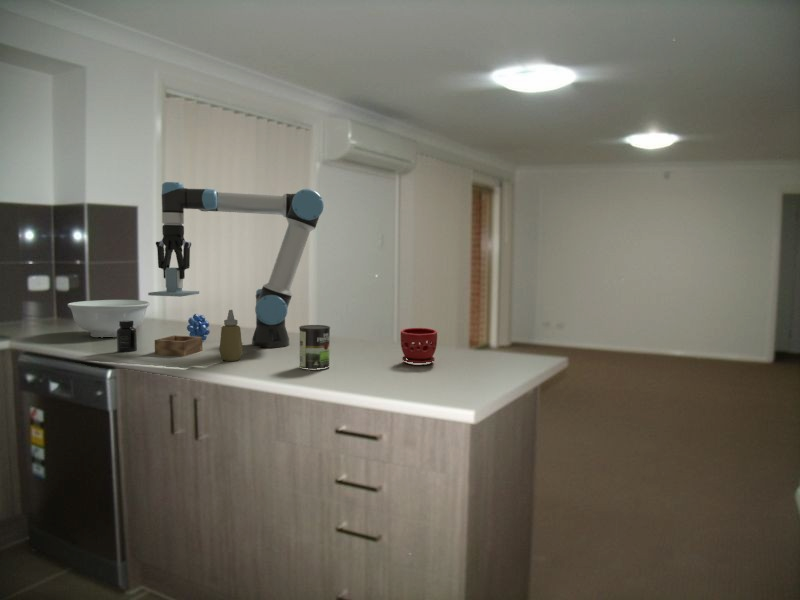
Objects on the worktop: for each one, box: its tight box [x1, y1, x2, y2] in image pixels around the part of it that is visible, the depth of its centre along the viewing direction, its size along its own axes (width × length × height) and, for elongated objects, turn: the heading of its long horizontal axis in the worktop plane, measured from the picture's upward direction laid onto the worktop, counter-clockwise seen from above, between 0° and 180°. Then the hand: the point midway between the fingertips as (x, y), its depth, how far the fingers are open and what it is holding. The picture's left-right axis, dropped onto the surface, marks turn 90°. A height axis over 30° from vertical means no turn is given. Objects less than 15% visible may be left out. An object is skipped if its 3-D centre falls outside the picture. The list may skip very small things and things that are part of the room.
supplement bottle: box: [116, 320, 138, 353], centre depth 230 cm, size 7×7×12 cm
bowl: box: [67, 299, 151, 339], centre depth 270 cm, size 32×32×15 cm
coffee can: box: [298, 324, 331, 369], centre depth 209 cm, size 10×10×14 cm
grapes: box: [186, 313, 211, 342], centre depth 256 cm, size 12×7×12 cm, turn 151°
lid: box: [147, 267, 200, 298], centre depth 230 cm, size 13×13×10 cm
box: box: [154, 335, 203, 357], centre depth 229 cm, size 12×12×6 cm
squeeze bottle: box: [219, 309, 243, 362], centre depth 220 cm, size 8×8×18 cm
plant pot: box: [400, 327, 438, 363], centre depth 220 cm, size 13×13×12 cm
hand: (174, 287), depth 231 cm, fingers closed on lid, 4 cm apart
